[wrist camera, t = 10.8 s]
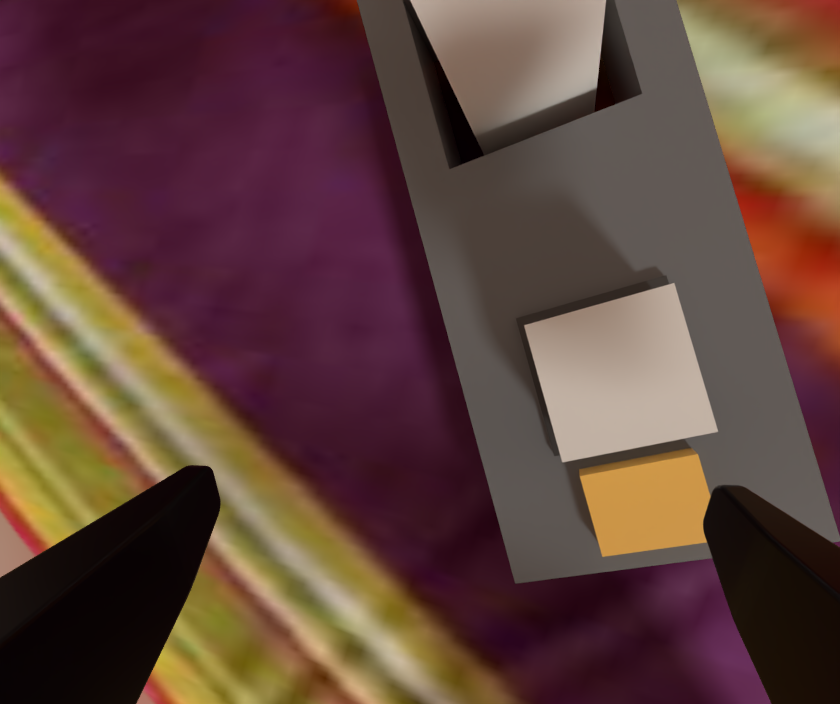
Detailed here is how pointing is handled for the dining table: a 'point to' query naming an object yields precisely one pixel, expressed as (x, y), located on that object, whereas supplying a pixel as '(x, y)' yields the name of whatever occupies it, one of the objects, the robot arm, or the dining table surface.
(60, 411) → the dining table surface
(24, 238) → the dining table surface
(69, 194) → the dining table surface
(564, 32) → the plug
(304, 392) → the dining table surface
